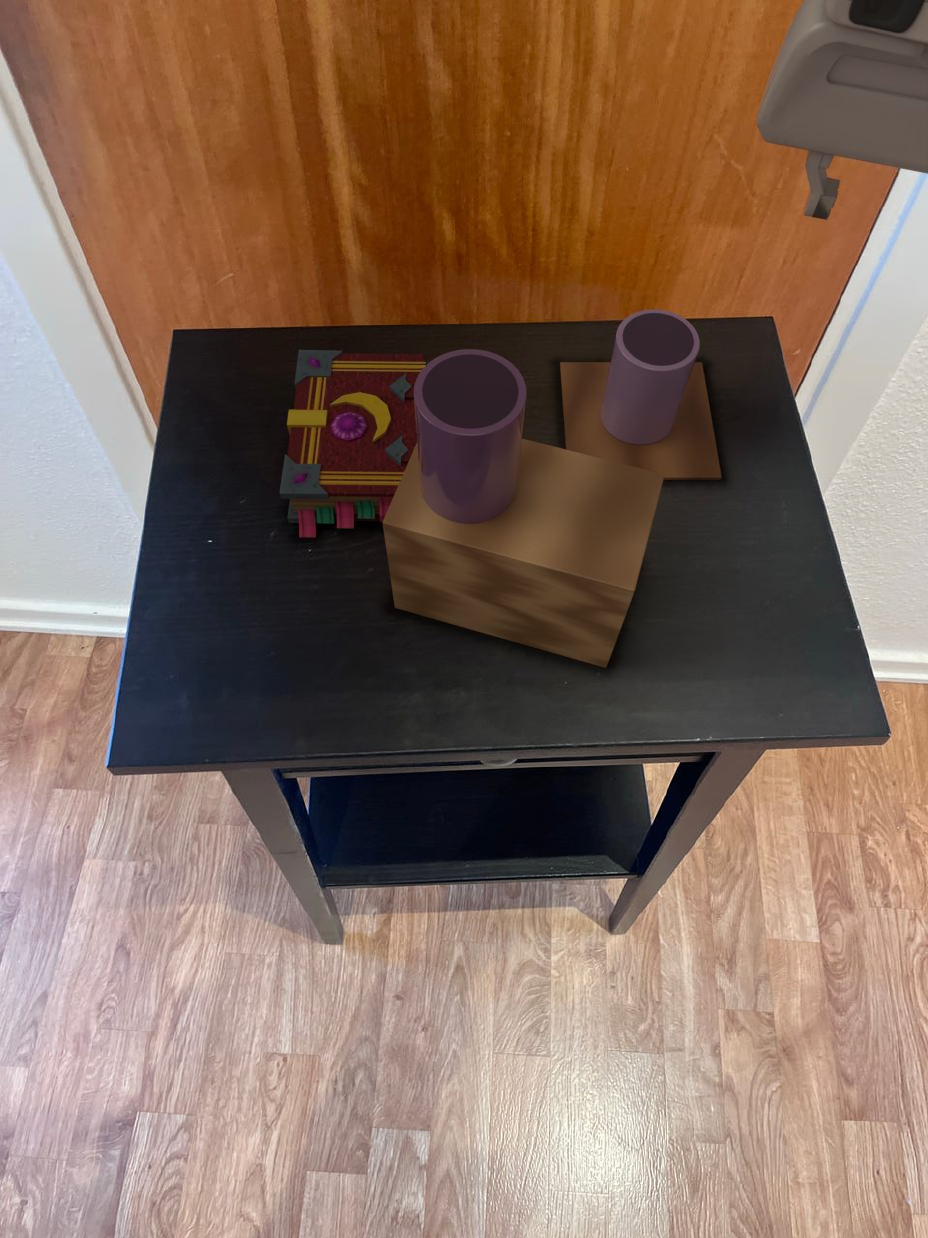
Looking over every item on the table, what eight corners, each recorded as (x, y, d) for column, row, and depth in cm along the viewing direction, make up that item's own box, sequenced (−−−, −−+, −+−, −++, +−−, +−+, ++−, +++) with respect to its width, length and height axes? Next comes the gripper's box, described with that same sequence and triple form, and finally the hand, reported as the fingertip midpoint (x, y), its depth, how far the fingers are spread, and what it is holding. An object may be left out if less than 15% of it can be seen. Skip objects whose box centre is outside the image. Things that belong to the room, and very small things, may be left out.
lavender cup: (690, 416, 76) (717, 339, 68) (641, 457, 74) (663, 383, 66) (633, 375, 78) (653, 296, 70) (584, 414, 76) (598, 337, 68)
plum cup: (537, 483, 58) (550, 390, 50) (469, 541, 56) (470, 454, 48) (468, 428, 60) (469, 331, 52) (399, 483, 58) (390, 389, 50)
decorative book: (431, 387, 78) (429, 346, 73) (425, 538, 70) (423, 503, 66) (305, 386, 78) (296, 345, 73) (286, 537, 70) (275, 501, 66)
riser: (633, 564, 69) (665, 473, 59) (606, 668, 65) (634, 591, 54) (433, 511, 71) (428, 414, 61) (394, 608, 67) (382, 522, 57)
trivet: (701, 365, 79) (702, 361, 79) (720, 480, 73) (721, 477, 73) (559, 364, 79) (560, 361, 79) (567, 480, 73) (568, 477, 73)
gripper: (1247, -19, 41) (1066, 229, 54) (817, -87, 44) (739, 164, 56) (1261, 54, 38) (1067, 298, 51) (802, -23, 41) (723, 226, 54)
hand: (892, 227), depth 54 cm, fingers open, 8 cm apart
